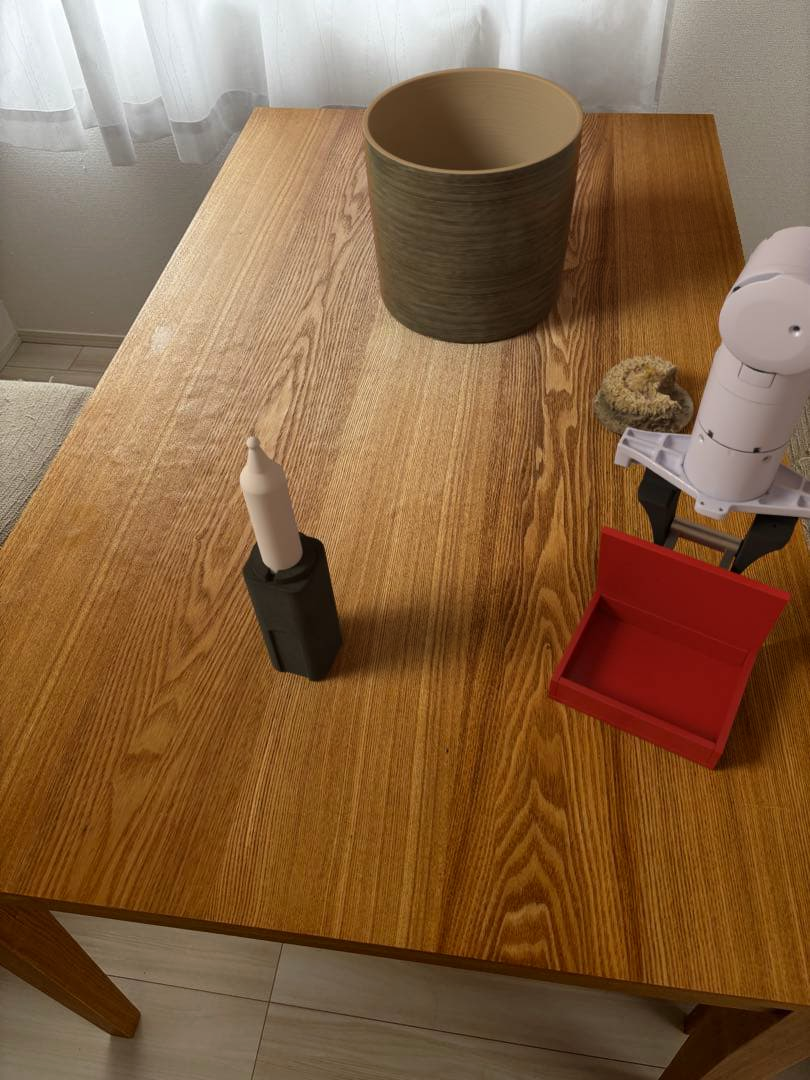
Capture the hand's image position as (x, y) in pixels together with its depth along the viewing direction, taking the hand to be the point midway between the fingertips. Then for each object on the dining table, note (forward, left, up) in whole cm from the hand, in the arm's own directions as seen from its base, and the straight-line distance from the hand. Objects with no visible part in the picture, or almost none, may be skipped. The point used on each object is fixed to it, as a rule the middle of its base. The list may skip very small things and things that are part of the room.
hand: (697, 554), depth 64 cm
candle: (+26, +16, -10) cm, 32 cm away
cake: (+11, -24, -10) cm, 28 cm away
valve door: (0, +3, -2) cm, 3 cm away
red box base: (0, +6, -10) cm, 12 cm away
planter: (+36, -35, -10) cm, 51 cm away
